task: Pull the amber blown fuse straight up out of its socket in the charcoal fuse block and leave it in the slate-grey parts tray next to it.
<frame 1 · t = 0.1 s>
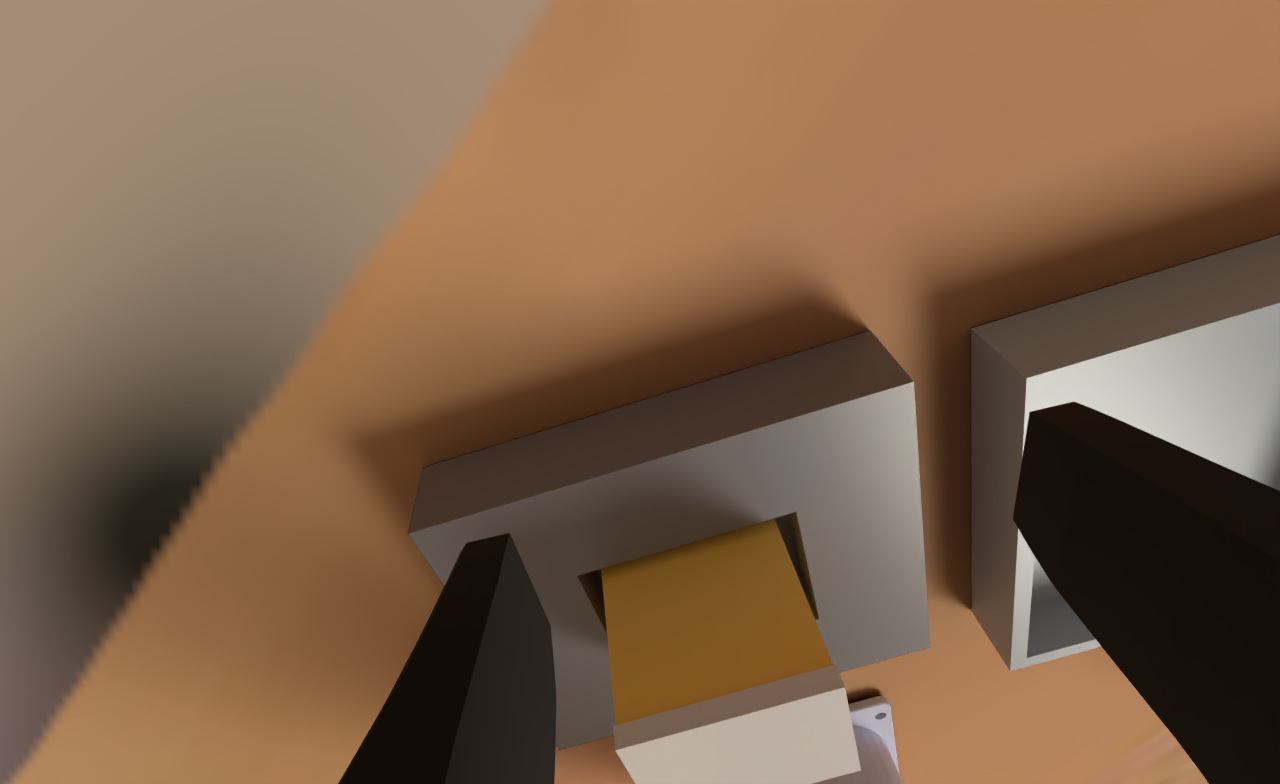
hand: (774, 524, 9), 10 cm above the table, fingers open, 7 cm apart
parts tray: (1139, 444, 24), on the table
fuse block: (689, 534, 24), on the table
fuse: (693, 551, 23), point 1 cm above the table, touching fuse block
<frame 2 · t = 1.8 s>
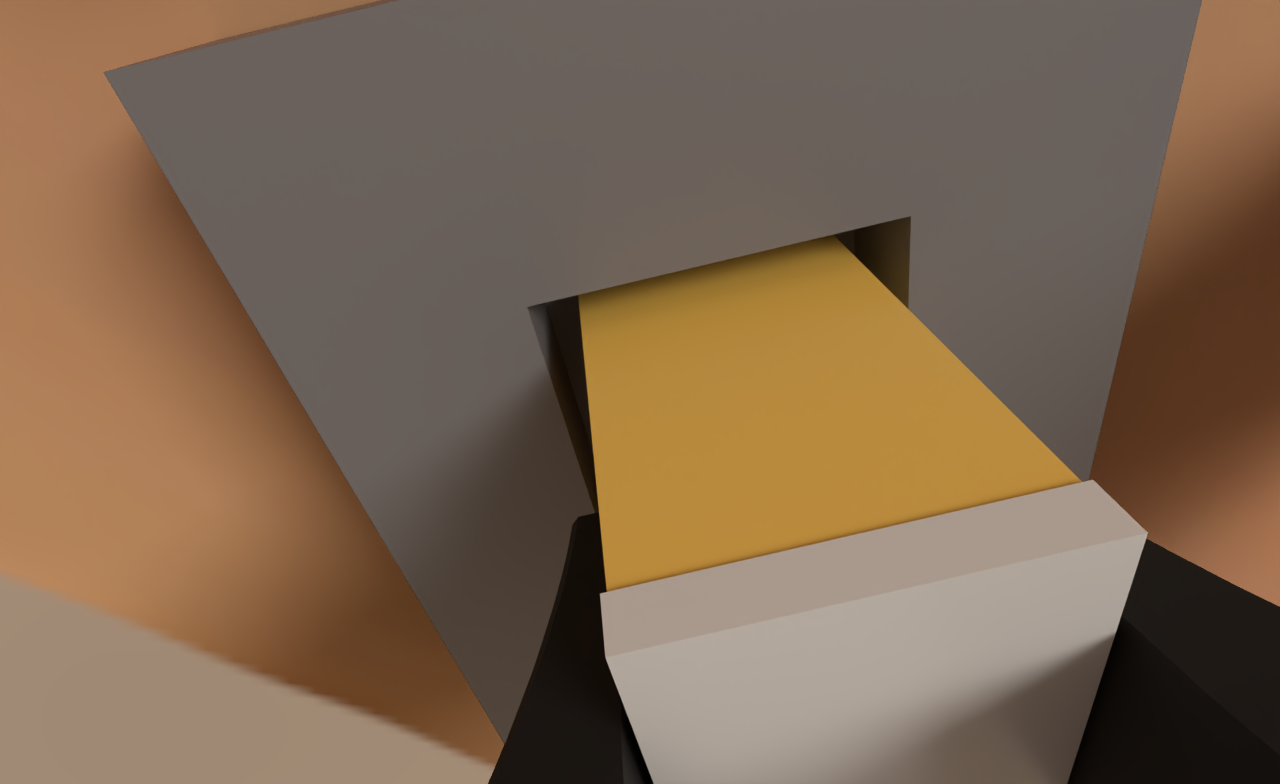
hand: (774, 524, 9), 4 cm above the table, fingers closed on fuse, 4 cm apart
fuse block: (710, 363, 13), on the table
fuse: (719, 386, 12), point 1 cm above the table, touching fuse block, gripper
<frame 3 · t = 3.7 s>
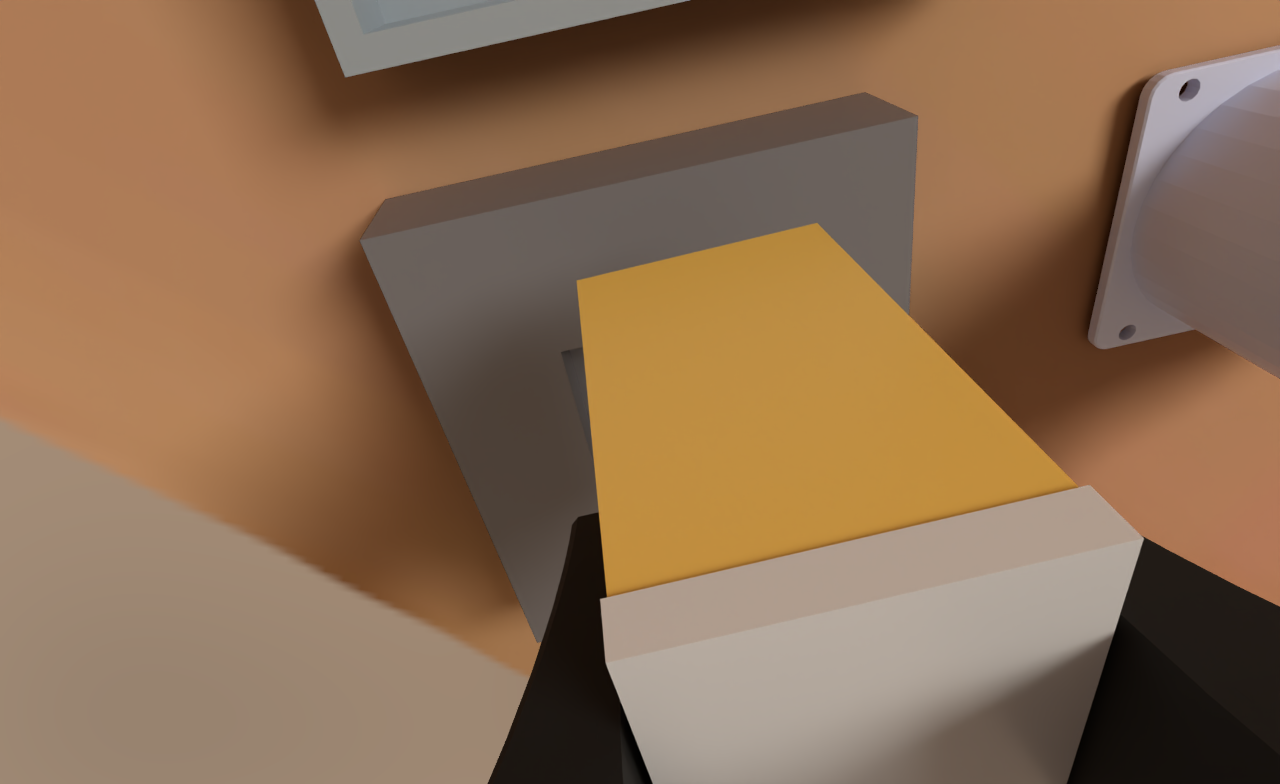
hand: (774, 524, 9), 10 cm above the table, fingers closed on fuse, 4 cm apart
fuse block: (670, 380, 20), on the table
fuse: (719, 388, 12), point 7 cm above the table, touching gripper
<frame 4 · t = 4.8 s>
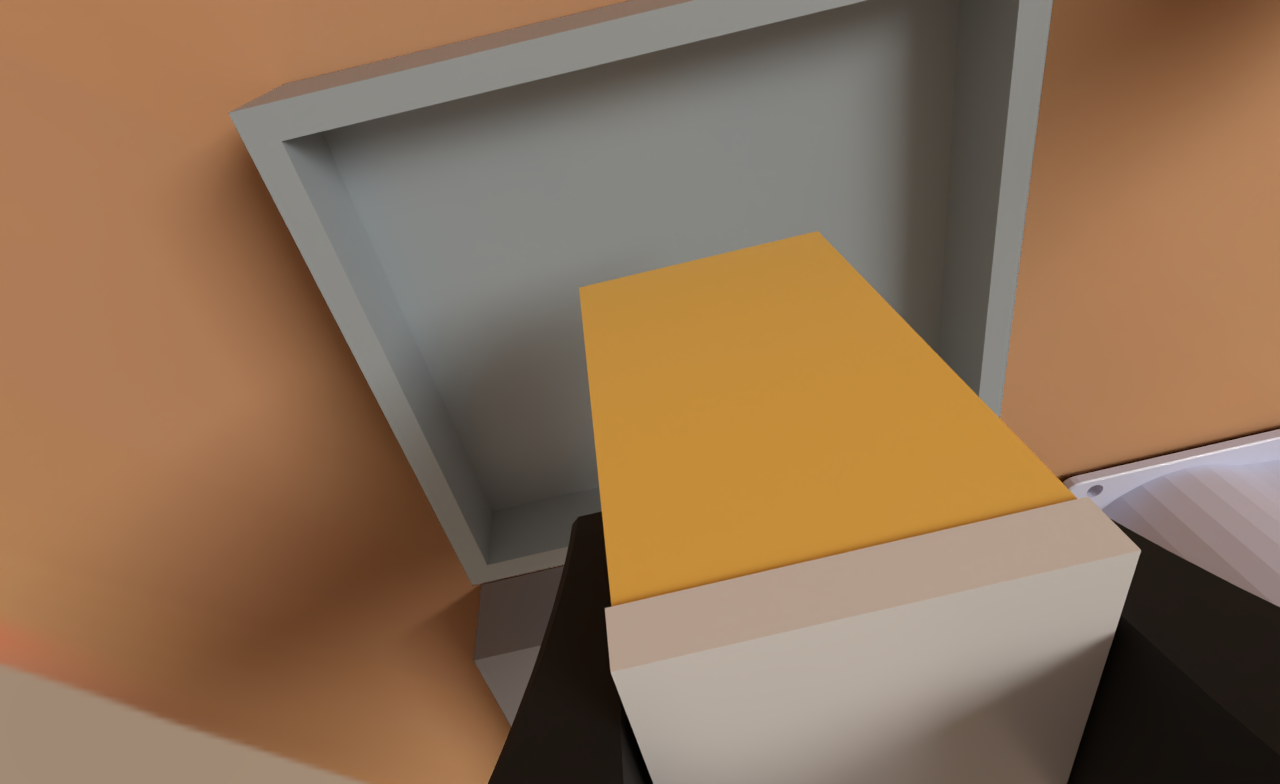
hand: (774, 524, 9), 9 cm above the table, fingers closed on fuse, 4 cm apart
parts tray: (676, 275, 17), on the table
fuse block: (695, 669, 26), on the table
fuse: (720, 395, 13), point 5 cm above the table, touching gripper
when the fingers open (6 cm above the table, at t = 5.7 s): fuse drops 1 cm, resting on parts tray.
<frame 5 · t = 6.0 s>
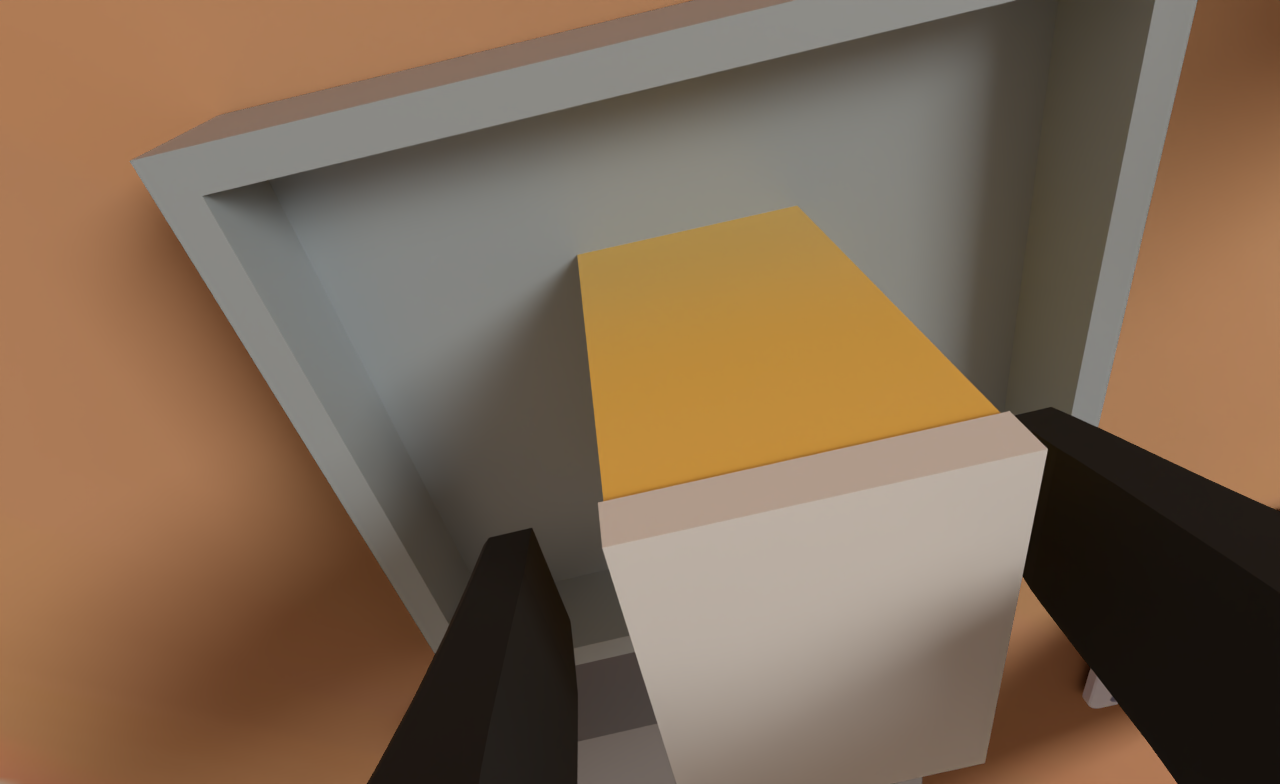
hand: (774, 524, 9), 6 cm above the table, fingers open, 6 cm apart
parts tray: (698, 334, 14), on the table
fuse block: (710, 748, 23), on the table
fuse: (706, 359, 14), point 1 cm above the table, touching parts tray
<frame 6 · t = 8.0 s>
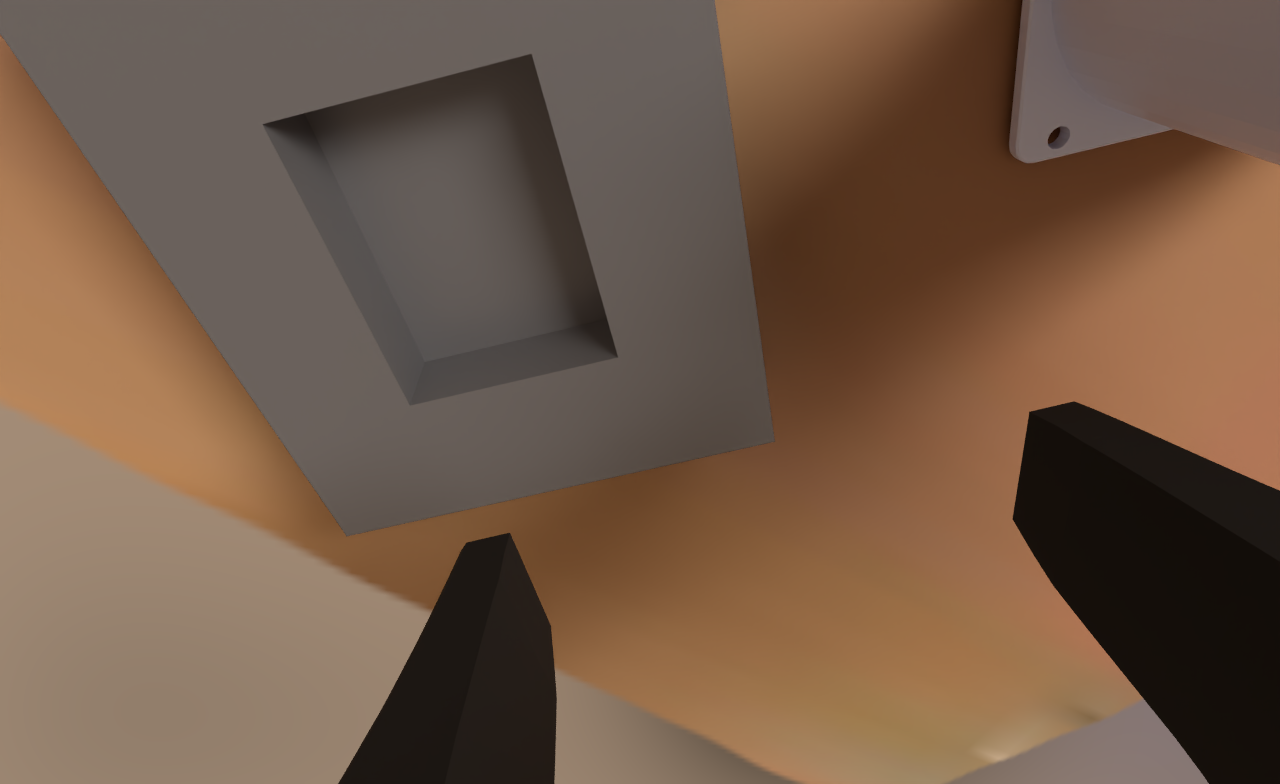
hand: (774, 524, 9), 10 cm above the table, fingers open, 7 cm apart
fuse block: (477, 209, 17), on the table
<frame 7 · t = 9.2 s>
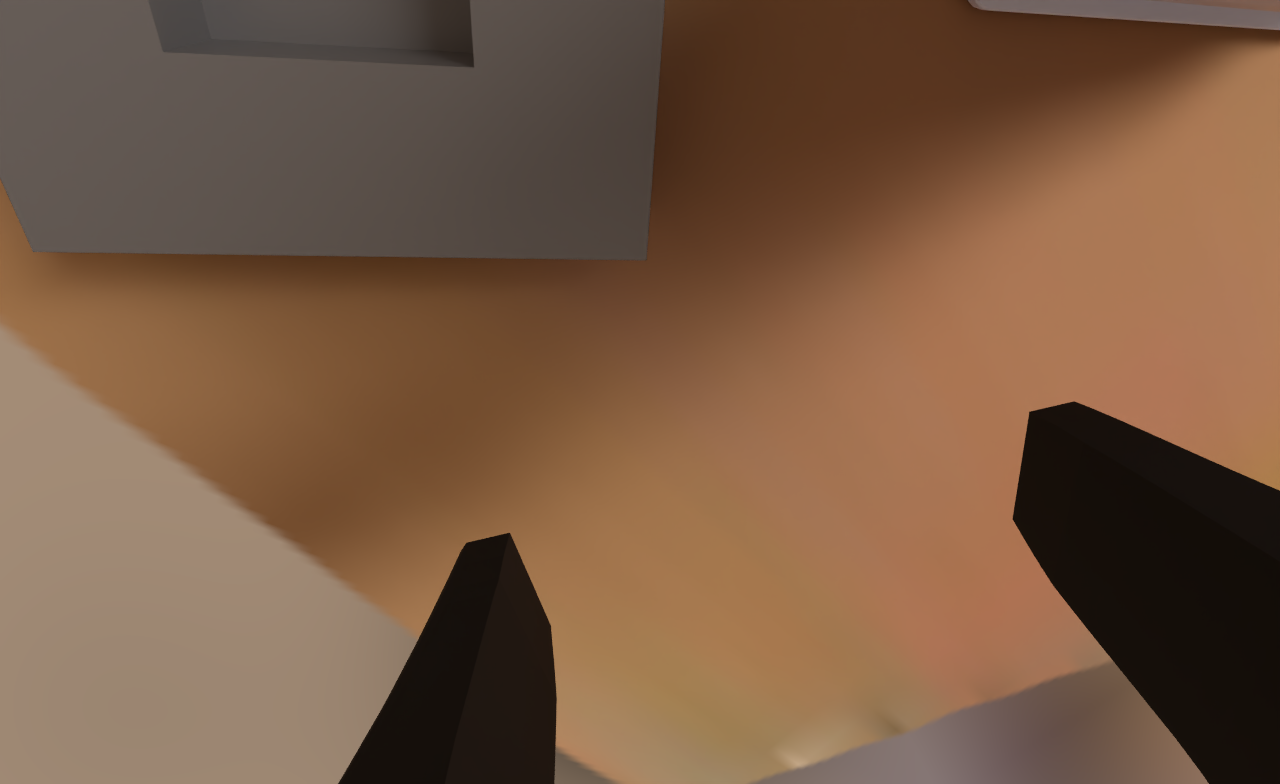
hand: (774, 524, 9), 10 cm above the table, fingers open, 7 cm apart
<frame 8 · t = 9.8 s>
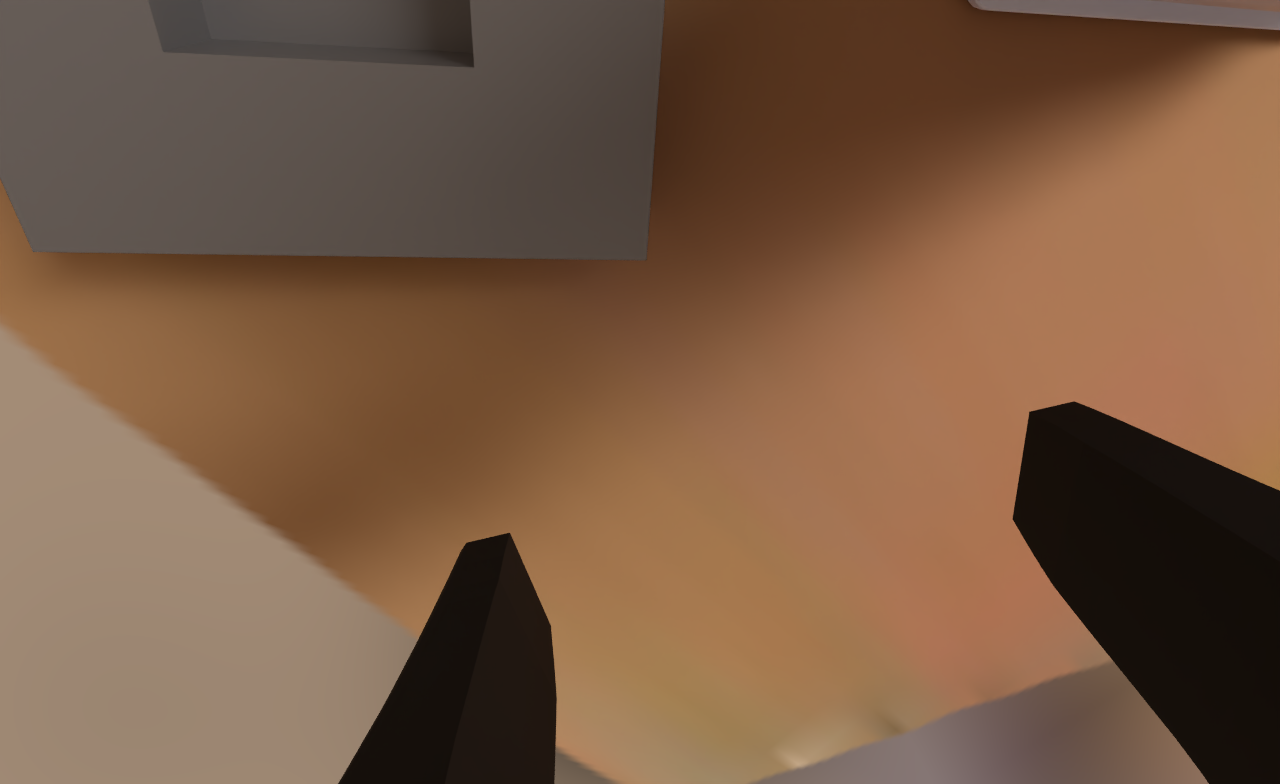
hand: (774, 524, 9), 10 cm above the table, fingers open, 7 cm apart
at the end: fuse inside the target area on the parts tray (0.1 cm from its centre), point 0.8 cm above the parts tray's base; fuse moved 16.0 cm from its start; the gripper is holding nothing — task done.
